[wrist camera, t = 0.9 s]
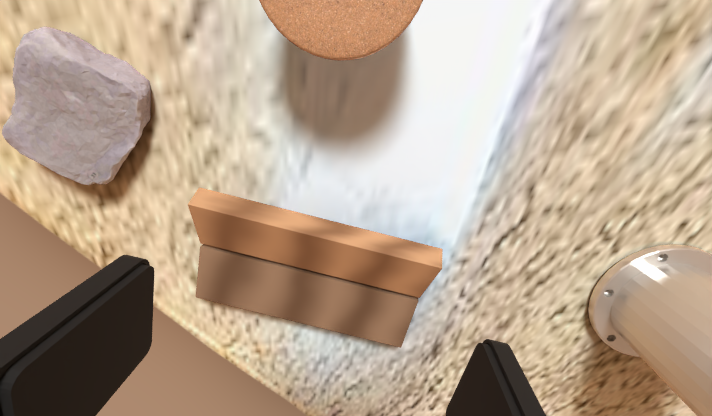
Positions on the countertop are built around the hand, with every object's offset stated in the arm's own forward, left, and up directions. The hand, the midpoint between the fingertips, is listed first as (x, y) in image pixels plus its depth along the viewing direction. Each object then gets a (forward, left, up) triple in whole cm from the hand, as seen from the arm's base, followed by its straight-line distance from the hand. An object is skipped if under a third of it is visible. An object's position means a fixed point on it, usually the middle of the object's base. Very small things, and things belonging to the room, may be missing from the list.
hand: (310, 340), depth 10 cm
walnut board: (+2, +14, -23) cm, 27 cm away
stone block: (+24, +2, -24) cm, 34 cm away
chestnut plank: (+2, +7, -21) cm, 23 cm away
